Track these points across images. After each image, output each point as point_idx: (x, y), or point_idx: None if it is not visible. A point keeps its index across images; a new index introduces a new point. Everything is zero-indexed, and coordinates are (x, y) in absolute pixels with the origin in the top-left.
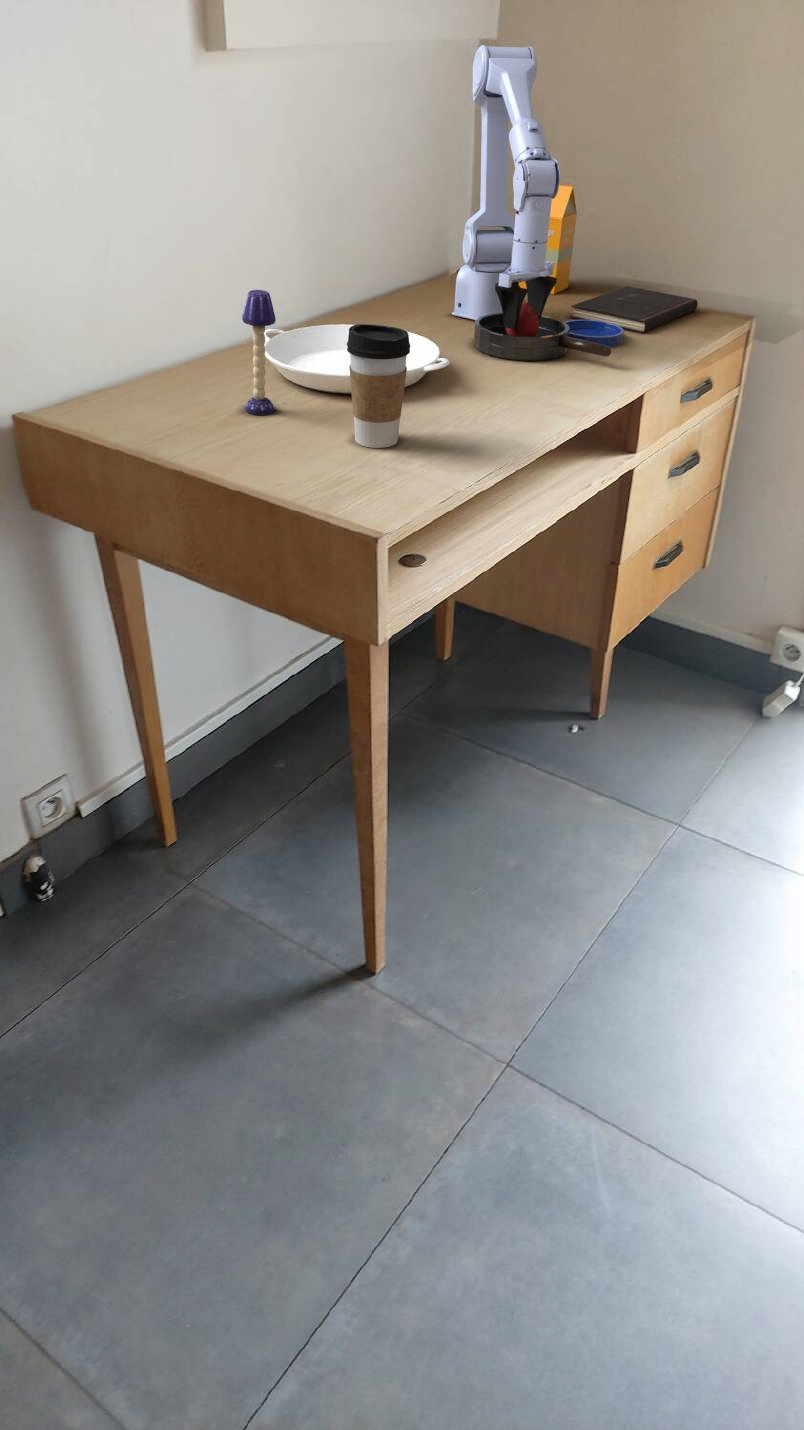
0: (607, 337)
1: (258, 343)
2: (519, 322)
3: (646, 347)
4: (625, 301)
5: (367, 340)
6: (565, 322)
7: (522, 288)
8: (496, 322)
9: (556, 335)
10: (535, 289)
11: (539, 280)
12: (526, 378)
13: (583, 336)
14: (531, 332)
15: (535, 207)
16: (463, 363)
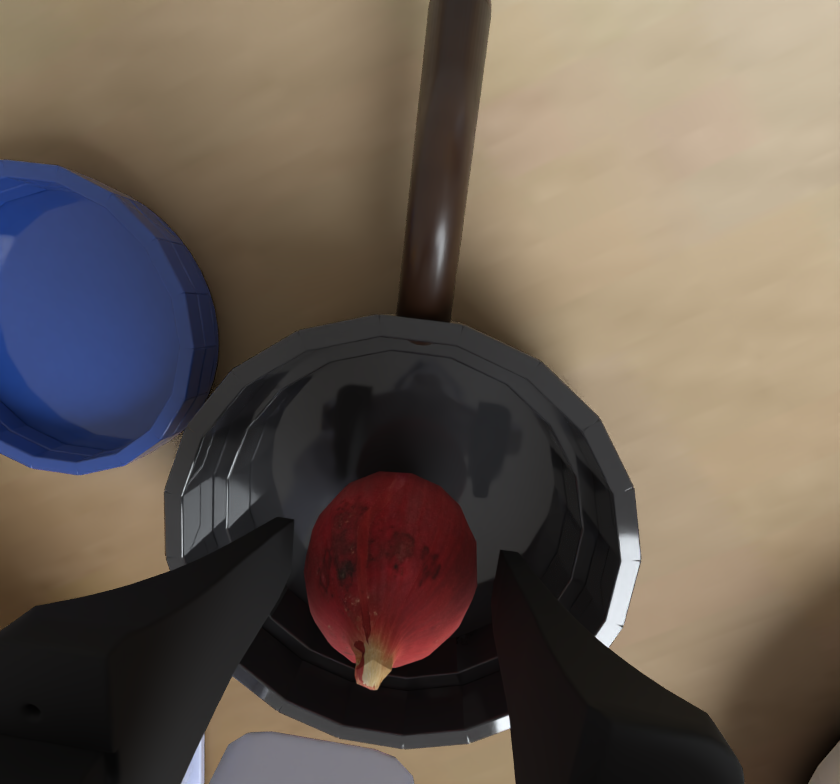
0: (116, 196)
1: None
2: (473, 564)
3: (10, 45)
4: None
5: None
6: (51, 462)
7: (612, 775)
8: (315, 675)
9: (475, 333)
10: (191, 692)
11: (132, 751)
12: (799, 310)
13: (186, 304)
14: (431, 484)
15: None
16: (723, 590)
